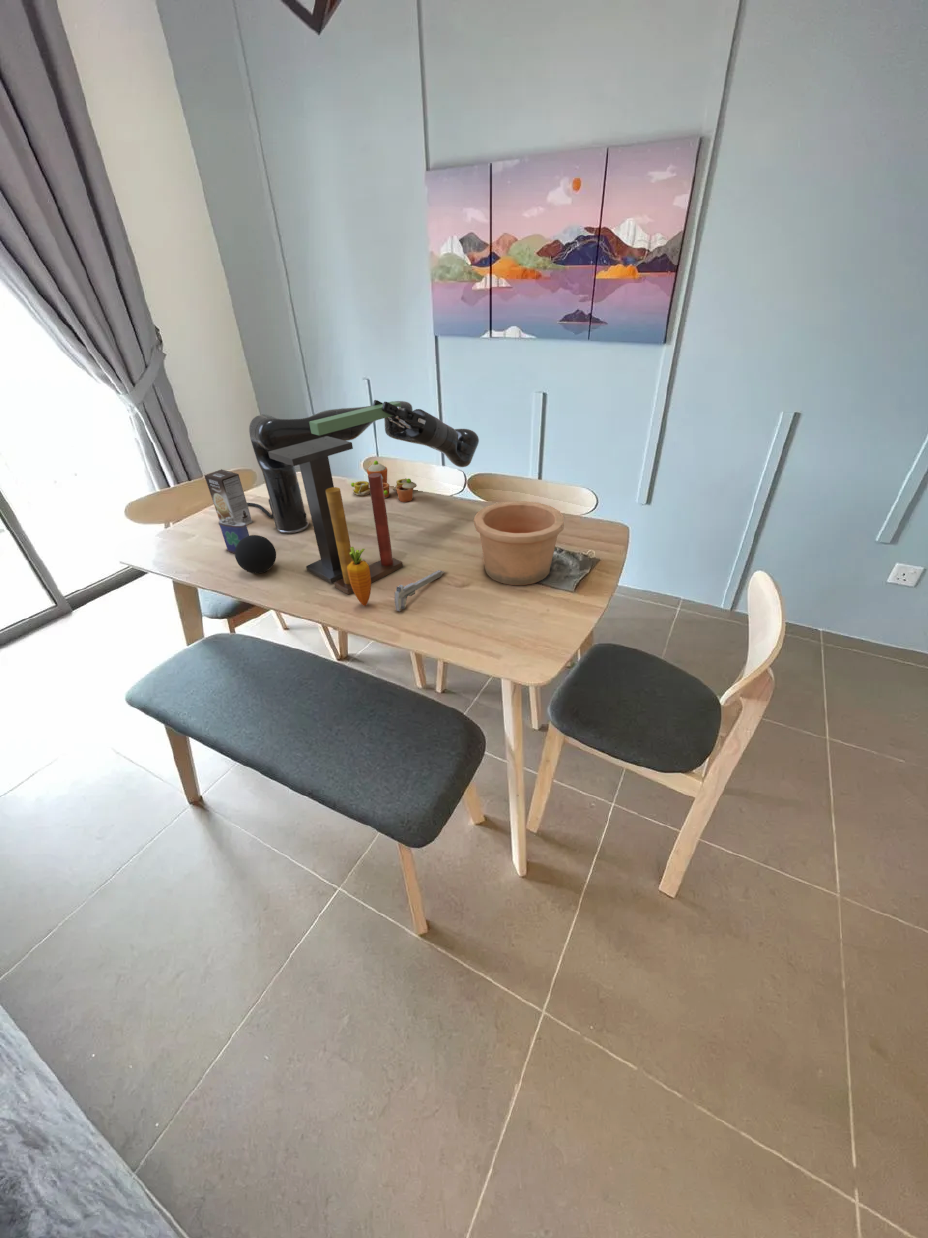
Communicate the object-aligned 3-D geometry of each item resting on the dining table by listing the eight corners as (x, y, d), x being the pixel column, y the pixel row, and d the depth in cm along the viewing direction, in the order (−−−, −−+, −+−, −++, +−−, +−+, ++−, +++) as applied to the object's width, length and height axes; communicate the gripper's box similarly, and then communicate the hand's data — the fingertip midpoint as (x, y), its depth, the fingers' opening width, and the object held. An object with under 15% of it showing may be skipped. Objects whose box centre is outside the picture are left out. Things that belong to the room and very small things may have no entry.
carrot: (355, 600, 118) (344, 543, 109) (376, 599, 118) (366, 542, 110) (353, 612, 114) (341, 554, 105) (374, 610, 114) (364, 552, 105)
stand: (348, 552, 139) (325, 435, 121) (372, 563, 133) (353, 442, 115) (298, 574, 129) (266, 451, 111) (323, 587, 123) (293, 459, 105)
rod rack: (389, 560, 134) (376, 469, 120) (403, 566, 131) (391, 473, 117) (335, 587, 123) (314, 490, 109) (348, 594, 120) (328, 496, 106)
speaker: (236, 570, 133) (224, 536, 127) (272, 558, 138) (263, 525, 132) (248, 584, 126) (236, 549, 120) (285, 571, 131) (276, 537, 125)
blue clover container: (256, 551, 142) (245, 516, 136) (249, 556, 139) (238, 520, 133) (231, 547, 145) (220, 513, 139) (224, 551, 142) (212, 517, 136)
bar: (393, 411, 122) (392, 401, 120) (401, 413, 120) (400, 402, 119) (311, 433, 107) (308, 421, 106) (319, 435, 106) (317, 423, 104)
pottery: (503, 600, 115) (504, 544, 107) (460, 562, 132) (458, 511, 123) (577, 576, 123) (583, 523, 115) (528, 543, 140) (530, 494, 131)
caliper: (399, 613, 113) (396, 590, 109) (396, 612, 113) (392, 589, 109) (444, 573, 127) (443, 551, 124) (440, 572, 128) (439, 550, 124)
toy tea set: (347, 495, 177) (342, 468, 171) (372, 481, 188) (368, 456, 182) (408, 505, 166) (405, 477, 161) (431, 490, 178) (429, 463, 172)
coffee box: (219, 523, 159) (202, 474, 150) (236, 516, 164) (220, 468, 155) (237, 529, 155) (221, 479, 146) (253, 522, 160) (239, 473, 151)
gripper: (412, 411, 133) (363, 385, 119) (450, 418, 125) (403, 391, 111) (404, 439, 134) (356, 417, 121) (441, 447, 127) (394, 424, 113)
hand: (379, 405), depth 116 cm, fingers closed on bar, 3 cm apart
